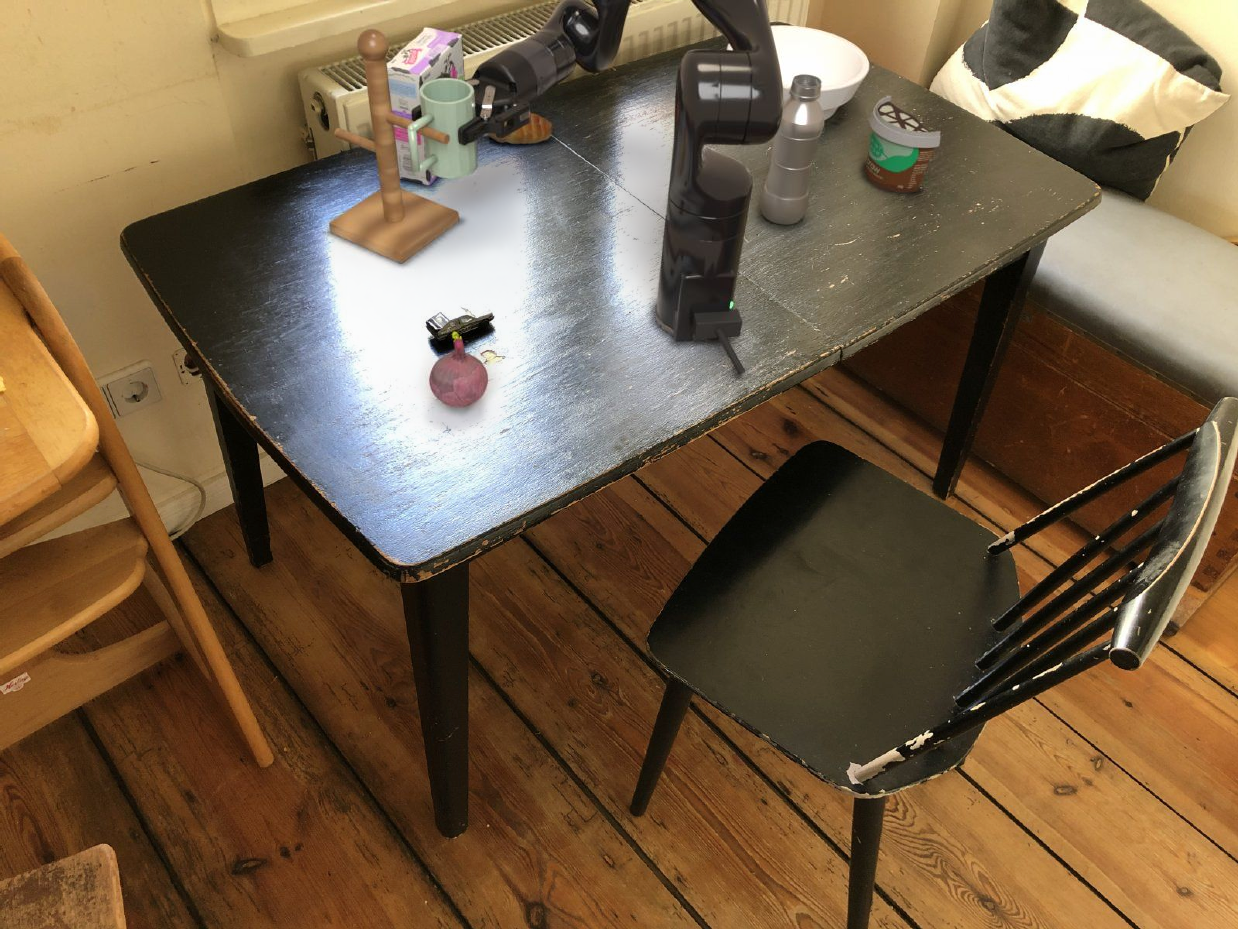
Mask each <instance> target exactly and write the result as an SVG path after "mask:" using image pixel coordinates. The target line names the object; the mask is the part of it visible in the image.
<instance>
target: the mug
mask: <svg viewBox="0 0 1238 929" xmlns="http://www.w3.org/2000/svg"><path fill="white" fill-rule="evenodd" d="M419 96H420V106H421V116H422V117H421V118H419V119H418V120H416V121H415V122H413V123H411V124H410V125H408V127H407V130H408V139H409V148H410V157H411V166H412V172H413V174H415V175H417V174H419V173H421V172H422V171H424V170H425V169H428V170H429V171H430V172H431V173H432V174H434V175H436V176H438V177H439V178H442V179H460V178H464V177H467V176H470V175H472V174H473V173H474V172H476V170H477V169H478V166H479V154H478V153H479V152H478V139H477V140H475V141H474V142H472V143H468V144H467V145H465V146H464V145H461V144H459V142H458V129H459V127H461V126H462V125H464V124H465V123H467V122H469V121H470V120H472V119H473V118H475V117H476V115H475V97H474V89H473V87H472V86H471V85H470V84H469V83H468V82H465V81H463V80H460V79H454V78H439V79H434V80H431V81H428V82H426V83H425V84H423V85H422V86H421V88H420V89H419ZM424 126H427V127H430V128H433V129H435V130H438V131H441V132H443V133H446V134H448V135H449V136H450V140H449V142H448V144H443V143H440V142H438V141H435V140H433V139H430V138H427V137H425V136H423V137H424V147H425V157H426V159H425V160H423V161H422V162H420V163H419V153H418V143H417V134H416V131H417V130H419V129H421V128H422V127H424Z"/></svg>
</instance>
